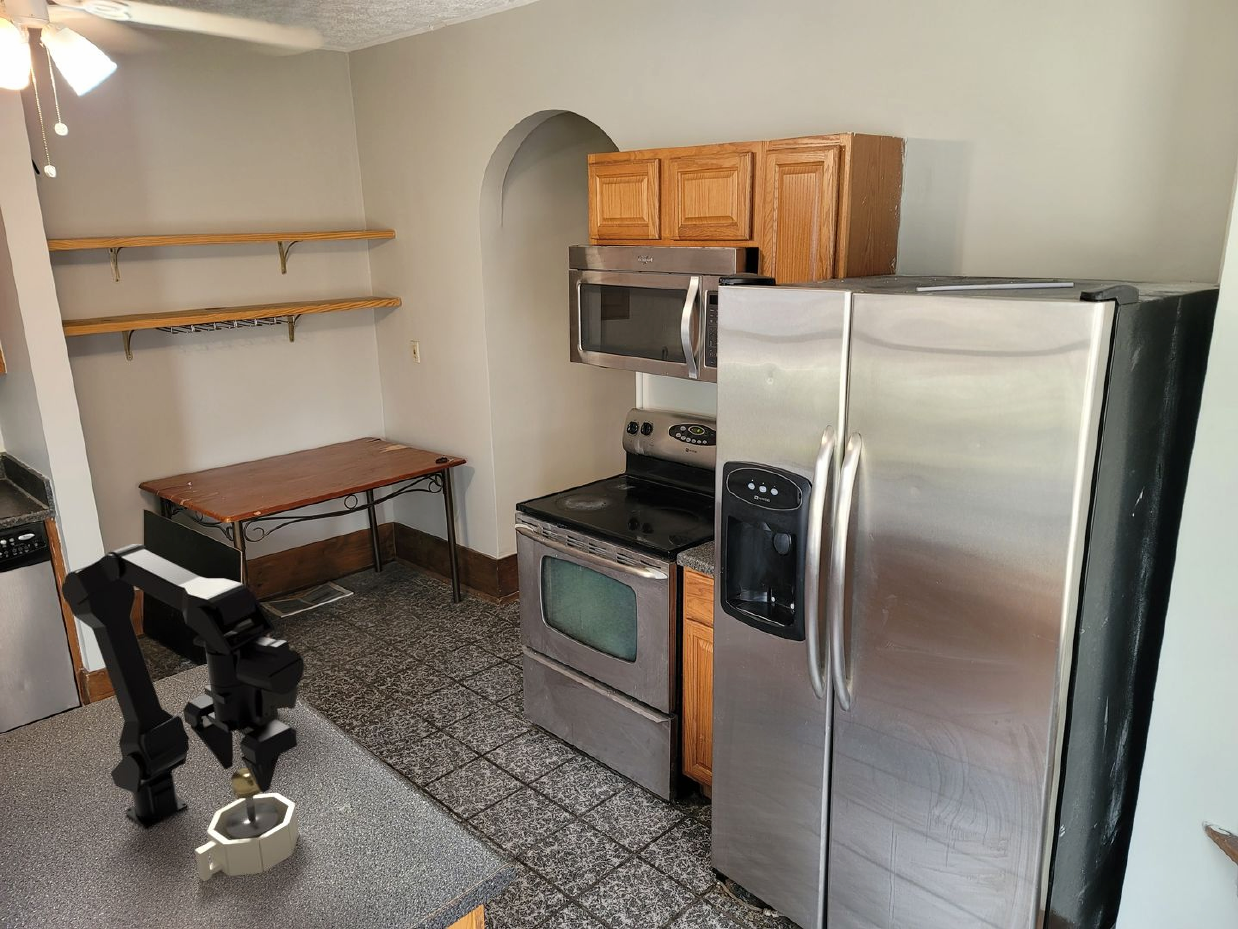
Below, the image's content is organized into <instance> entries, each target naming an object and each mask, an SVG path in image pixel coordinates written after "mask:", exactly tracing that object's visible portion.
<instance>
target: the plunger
mask: <svg viewBox="0 0 1238 929" xmlns="http://www.w3.org/2000/svg"><path fill="white" fill-rule="evenodd" d="M230 777H231V778H230V779H231V786H232V792H233V797H235V798H237V799H240V798H241V799H244V798H245V799H246V806H245V807H243V808H241V809H239V810H237V811H235V812H234V813H233V814H231V815H230V816H229V817H228V819H227V820H226V823H225V829H226V833H227V835H228V836H229V837H230V838H232V840H238V839H248V838H257V837H260V836H261V835H263V834H265V833H267V832H268V831H270V830H272V829H273V828H275V827H277V826H276V825H277V824H278V822H279V812H278V809H277V808H276V807H275V806H273V805H271V804H266V803H258V804H254V799H253V796H255V795H259V794H260V793H262V792H261V791H260V789H259V788H258V786H257V784H256V783H255V781H254V779H253V777H252V776H251V774H250V772H249V770H248V768H247V767H244V768H241V769H239V770H236V771H235V772H234V773H233V774H232V775H231V776H230Z"/></svg>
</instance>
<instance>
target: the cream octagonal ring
mask: <svg viewBox="0 0 1238 929" xmlns="http://www.w3.org/2000/svg"><path fill="white" fill-rule="evenodd" d="M253 799H254V804H258V803H266V804H271V805H273V806H275V807H276V808H277V809H278V812H279V822H278V824H277V825H276V826H275V828H273V829H272V830H270V831H268V832H267V833H265V834H263V835H261V836H260V837H257V838H248V839H238V840H236V839H232V838H230V837H229V836H228V835H227V833H226V829H225V823H226V820H227V819H228V817H229V816H230V815H231V814H233V813H234V812H235V811H237V810H239V809H241V808H243V807H245V806H246V799H245V798H244V799H241V798H238V799H237V800H235V801H233V802H230V803H229V804H227V805H226V806H224V807H222V808H220V809H218V810H217V811H216V812H215V813H214V815H213V817H212V819H211V822H210V824H209V826H208V828H207V830H206V833H207V840H208V841H207V843H205V844H203V845H201V846H199V847H197V848H195V849H194V852H195V853H194V854H195V860H196V867H197V871H198V878H199V880H202V881H203V882H206V881H209V880H210V879H211V878H213V875H215V874H217V873H218V872H223V873H224V874H225V875H226V876H228V877H235V876H243V875H254V874H262V873H265V872H267V871H268V870H270V869H272V868H274V867H275V866H277V865H278V864H279V863H281V862H283V861H284V860H286V859H287V858H289V857H291V856H292V855H293V853H294V851H295V849H296V848H295V847H296V844H297V840H298V838H299V835H300V834H299V826H298V819H297V811H296V804H295V803H294V802H293V801H292V800H290V799H288V798H287V797H285V796H283V795H282V794H280V793H277V792H273V793H261V794H260V793H259V794H257V795H255V796H253ZM209 855H210V858H209ZM210 861H211V863H210Z"/></svg>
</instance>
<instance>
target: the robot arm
mask: <svg viewBox="0 0 1238 929" xmlns="http://www.w3.org/2000/svg"><path fill="white" fill-rule="evenodd" d="M135 588H136V589H139V590H140V591H142V592H145V593H146V594H148V595H150V596H152V597H153V598H156V599H158V600H159V601H162V602H164V603H166V604H168V605H170V606H171V607H173V608H175V609H176V610H178V611H180V612H181V613H182V615H183V618H184V622H185V624H186V626H188V627H190V628H191V629H192V630H194V631H195V632H196V633H198V634H199V635H197V636H196V637H195V638H194V639H193V641H192V642H193V644H194V645H196V646H199V647H203V648H204V650H205V656H206V664H207V670H208V677H209V678H208V679H209V684H208V685H206V686H204V688H203V689H204V694H203V695H200V696H198V697H195V698H194V699H191V700H189V701H188V702H187V703H186V705H185V706H184V708H183V716H184V718H182V717H180V716H179V715H175V716H174V715H173V714H171V713H169V712H168V711H166V710H165V709H164V708H163V707H162V704H161V702H160V699H159V696H158V694H157V691H156V687H155V685H154V683H153V679H152V676H151V673H150V671H149V668H148V665H147V662H146V659H145V656H144V653H143V651H142V647H141V645H140V641H139V638H138V635H137V633H136V630H135V627H134V624H133V621H132V619H131V618H132V616H131V615H132V612H133V608H134V603H135V601H136V595H137V594H136V589H135ZM61 593H62V596H63V598H64V600H65V601H66V603H67V604H68V606H69V608H70V610H71V612H72V614H73V616H74V617H75V618H77V619H78V620H79V621H81V622H82V623H83V624H85V625H86V626H88V627H89V628H91V629H92V631H93V635H94V637H95V640H96V644H97V646H98V648H99V651H100V654H101V657H102V660H103V662H104V666H105V669H106V671H107V674H108V678H109V680H110V682H111V686H112V689H113V692H114V695H115V697H116V699H117V703H118V706H119V708H120V711H121V715H122V717H123V727H122V731H121V734H120V737H119V742H118V745H119V750H120V753H121V757H122V759H121V760H120V761H119V762H118V764H117V765H115V767H114V768H113V770H112V771H111V772H110V775H111V777H112V778H111V779H112V780H113V783H114V785H115V787H117V788H120V789H122V790H125V791H129V792H131V795H132V796H131V797H132V801H133V802H132V803H133V805H132V806H130V807H129V808H127V809H126V810H125V814H126V815H127V816H128V817H130V818H131V819H132V820H133V821H135V822H136V823H138V825H140V826H142V827H143V828H144V829H149V828H151V827H153V826H155V825H157V824H159V823H160V822H162V821H164V820H166V819H169V818H170V817H172V816H174V815H176V814H178V813H180V812H181V811H183V810H185V809H187V808H188V807H189V805H188V802H187V801H185V800H184V799H181V798H180V797H179V796H178V795H177V790H176V783H175V777H174V772H173V771H174V770H176V769H177V768H180V766H184V765H185V764H186V763H187V756H188V751H190V743H189V742H190V741H189V740H190V737H189V735H188V734H187V732H186V729H185V726H184V723H187V724H188V725H190V729H191V730H192V731H193V732H195V734H196V735H197V737H198V738H199V739H200V740H201V741H202V743H203V744H204V745H205V746H206V748H207V749H208V750H209V751H210V752H211V754H212V755H213V757H214V758H215V759H216V760H217V761H218V763H219V764H220V765H221V767H222V768H223V769H224V770H228V769H230V768H232V767H233V764H234V745H233V742H234V739H233V738H234V736H233V732H236V731H238V732H239V733H241V734H243V738H242V739H241V740H240V743H239V745H240V751H241V753H242V756H241V760H242V761H243V763H244V765H245V768H248V770H249V772H250V774H251V776H252V777H253V779H254V781H255V783H256V784H257V786H258V788H259V789H260V791H261V792H260V793H261V794H265V792H267V791H269V790H270V789H271V786H272V782H273V777H274V774H275V771H276V767H277V763H278V761H279V758H280V756H282V754H284V753H286V752H288V751H289V750H291V749H293V748H296V747H297V746H298V744H299V739H298V738H299V737H298V731H297V729H295V728H294V727H291V726H289V725H288V724H286V723H285V722H282V721H280V720H277V718H276V719H275V720H273V721H271V722H269V723H267V724H263V723H261V722H259V718H260V717H263V718H265V717H267V716H269V715H271V709H279V710H280V709H289V710H290V709H291V710H292V709H295V708H296V705H297V700H298V694H299V690H300V682H301V679H302V676H303V675H304V670H305V663H304V659H303V658H302V656H301V654H300V653H299V652H298V651H296V650H294V649H290V642H289V641H287V640H283V639H274V638H271V637H270V638H267V635H268V634H272V633H274V632H276V628H275V625H274V624H273V622H272V621H271V616H270V615H269V614H268V613H266V612H267V611H266V610H265V609H264V608H263V607H262V605H261V604H260V602H259V601H258V599H257V597H256V596H255V594H254V593H253V591H252V590H251V589H250V588H249V586H247V585H246V584H244V583H242V582H239V581H235V580H231V579H227V578H207V577H203V576H200V575H197V574H195V573H194V572H191V571H190V570H188V569H186V568H184V567H181V566H179V565H178V564H176V563H173V562H171V561H169V560H167V559H165V558H163V557H161V556H160V555H157V554H155V553H152V552H151V551H149V549H148V548H147V546H145V545H144V544H142V543H132V544H129V545H126V546H123V547H120V548H118V549H115V550H111V551H109V552H108V553H107V554H105V555H104V556H102V557H101V558H100V559H99V560H97V561H96V562H93V563H91V564H90V565H87V566H84V567H81V568H79V569H76V570H72V571H70V572H68V573H67V574H66V575H65V579H64V582H62V584H61ZM265 611H266V612H265ZM250 621H252V622H253V623H254V625H252V626H250V627H248V628H246V629H244V630H242V631H240V632H238V633H237V632H233V631H232V630H234V629H236V628H238V627H240V626H242V625H245V624H247V623H249V622H250ZM183 719H184V722H183Z"/></svg>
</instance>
